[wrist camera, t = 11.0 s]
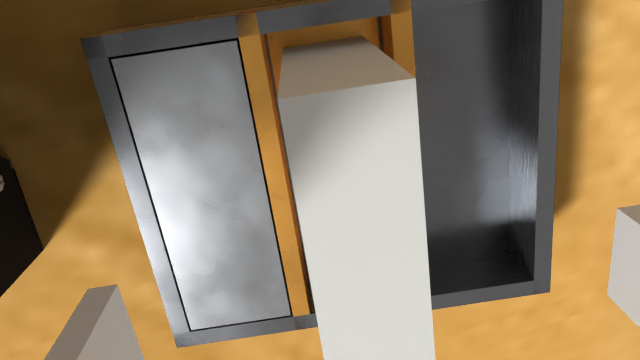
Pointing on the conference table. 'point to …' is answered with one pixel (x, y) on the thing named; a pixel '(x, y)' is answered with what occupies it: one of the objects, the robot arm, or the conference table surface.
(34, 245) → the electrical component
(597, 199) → the conference table surface
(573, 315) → the conference table surface
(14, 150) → the conference table surface
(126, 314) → the robot arm
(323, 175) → the white rectangular block
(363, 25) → the rack
